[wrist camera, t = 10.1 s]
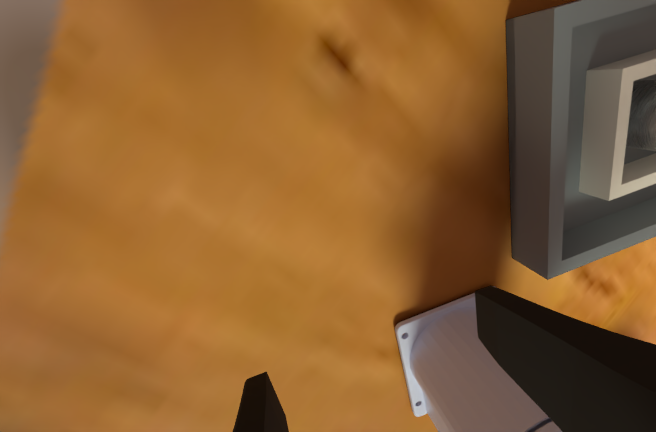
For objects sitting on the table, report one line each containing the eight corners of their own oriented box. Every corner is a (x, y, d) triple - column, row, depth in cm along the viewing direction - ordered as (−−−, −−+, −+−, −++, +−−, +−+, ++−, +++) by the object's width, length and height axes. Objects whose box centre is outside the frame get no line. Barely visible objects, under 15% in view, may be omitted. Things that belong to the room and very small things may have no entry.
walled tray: (703, 184, 26) (757, 195, 23) (512, 257, 24) (547, 279, 21) (755, -49, 20) (836, -70, 17) (505, 20, 18) (554, 8, 15)
